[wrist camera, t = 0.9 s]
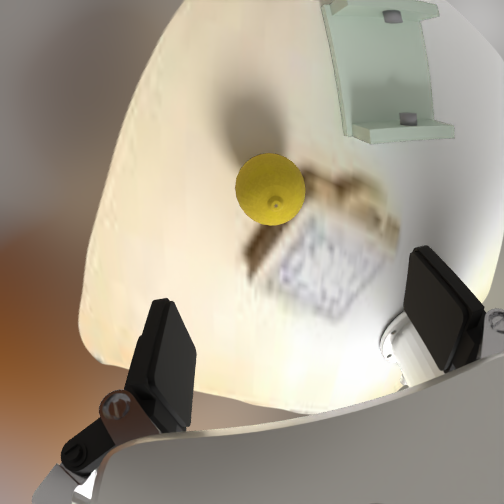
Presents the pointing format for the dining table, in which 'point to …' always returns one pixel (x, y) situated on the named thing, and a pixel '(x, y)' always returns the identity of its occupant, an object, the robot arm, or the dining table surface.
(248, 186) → the lemon
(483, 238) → the dining table surface
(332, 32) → the holder
